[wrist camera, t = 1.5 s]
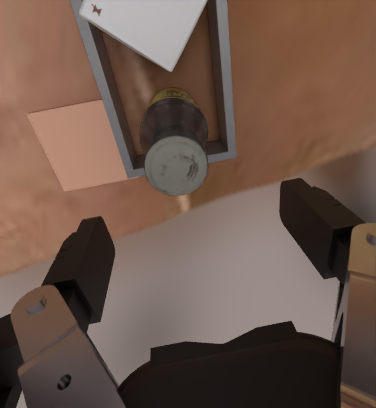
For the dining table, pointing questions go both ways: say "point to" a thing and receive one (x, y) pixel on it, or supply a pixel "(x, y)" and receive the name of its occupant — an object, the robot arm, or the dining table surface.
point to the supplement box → (147, 25)
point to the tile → (79, 144)
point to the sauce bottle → (174, 143)
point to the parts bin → (112, 101)
